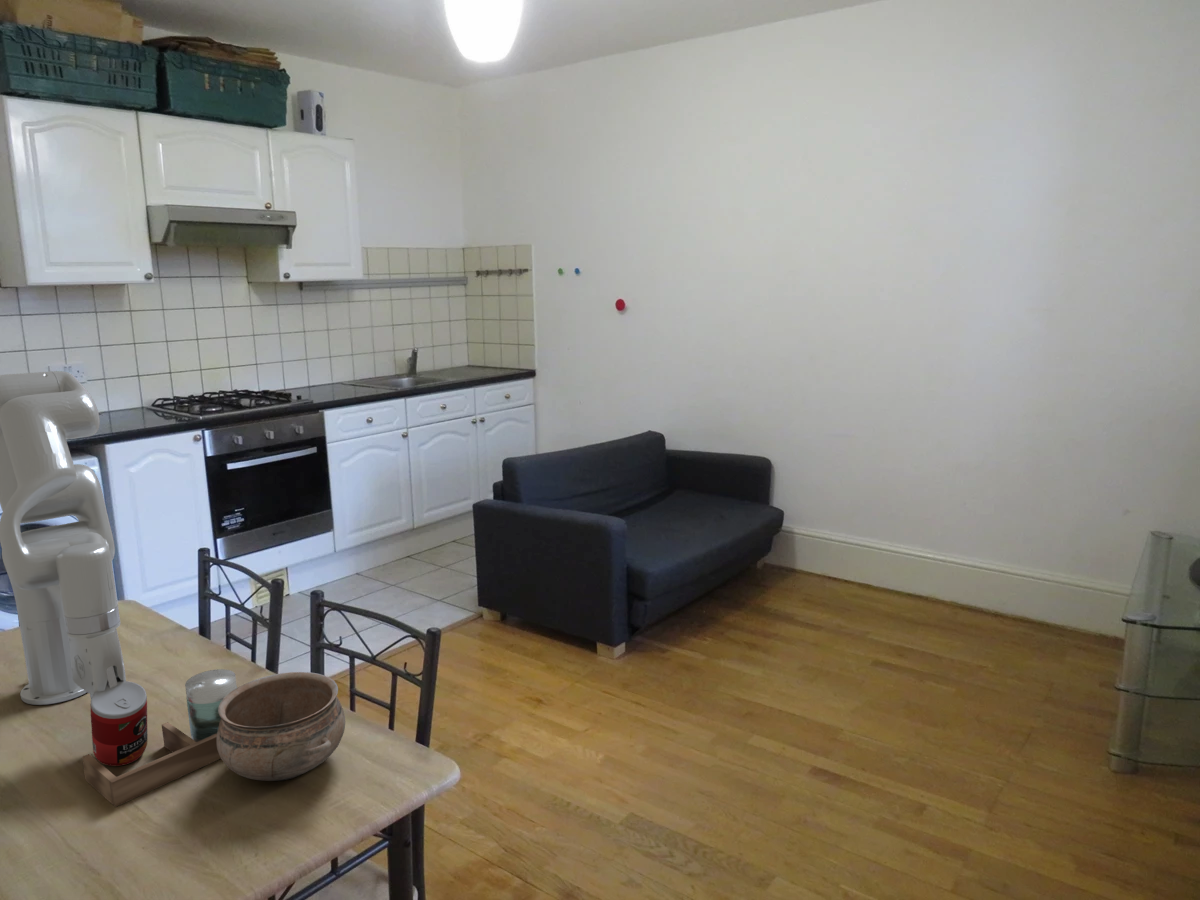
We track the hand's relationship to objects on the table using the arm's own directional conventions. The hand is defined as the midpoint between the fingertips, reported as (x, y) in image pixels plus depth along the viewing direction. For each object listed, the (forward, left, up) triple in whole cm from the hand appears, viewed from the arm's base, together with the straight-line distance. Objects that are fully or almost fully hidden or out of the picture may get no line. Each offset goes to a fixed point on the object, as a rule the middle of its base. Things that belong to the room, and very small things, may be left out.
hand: (107, 724), depth 138 cm
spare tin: (+12, +12, -4) cm, 18 cm away
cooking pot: (+29, +15, -4) cm, 33 cm away
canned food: (+4, 0, -3) cm, 5 cm away
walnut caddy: (+12, +6, -4) cm, 14 cm away
